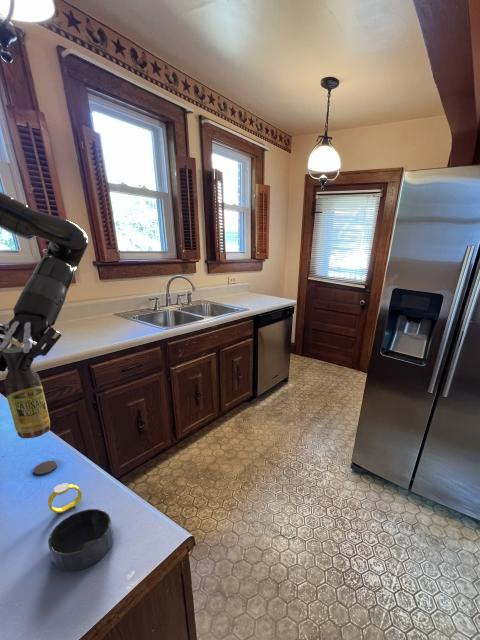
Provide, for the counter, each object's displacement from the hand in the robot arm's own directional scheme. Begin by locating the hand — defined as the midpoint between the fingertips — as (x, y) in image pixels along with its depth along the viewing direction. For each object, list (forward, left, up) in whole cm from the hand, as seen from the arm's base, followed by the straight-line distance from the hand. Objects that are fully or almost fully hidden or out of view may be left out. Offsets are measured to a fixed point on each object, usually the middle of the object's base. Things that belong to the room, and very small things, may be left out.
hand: (9, 370), depth 63 cm
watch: (+11, -4, -30) cm, 32 cm away
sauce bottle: (-1, +2, -16) cm, 16 cm away
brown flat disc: (-5, +5, -30) cm, 31 cm away
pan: (+22, -10, -30) cm, 38 cm away
